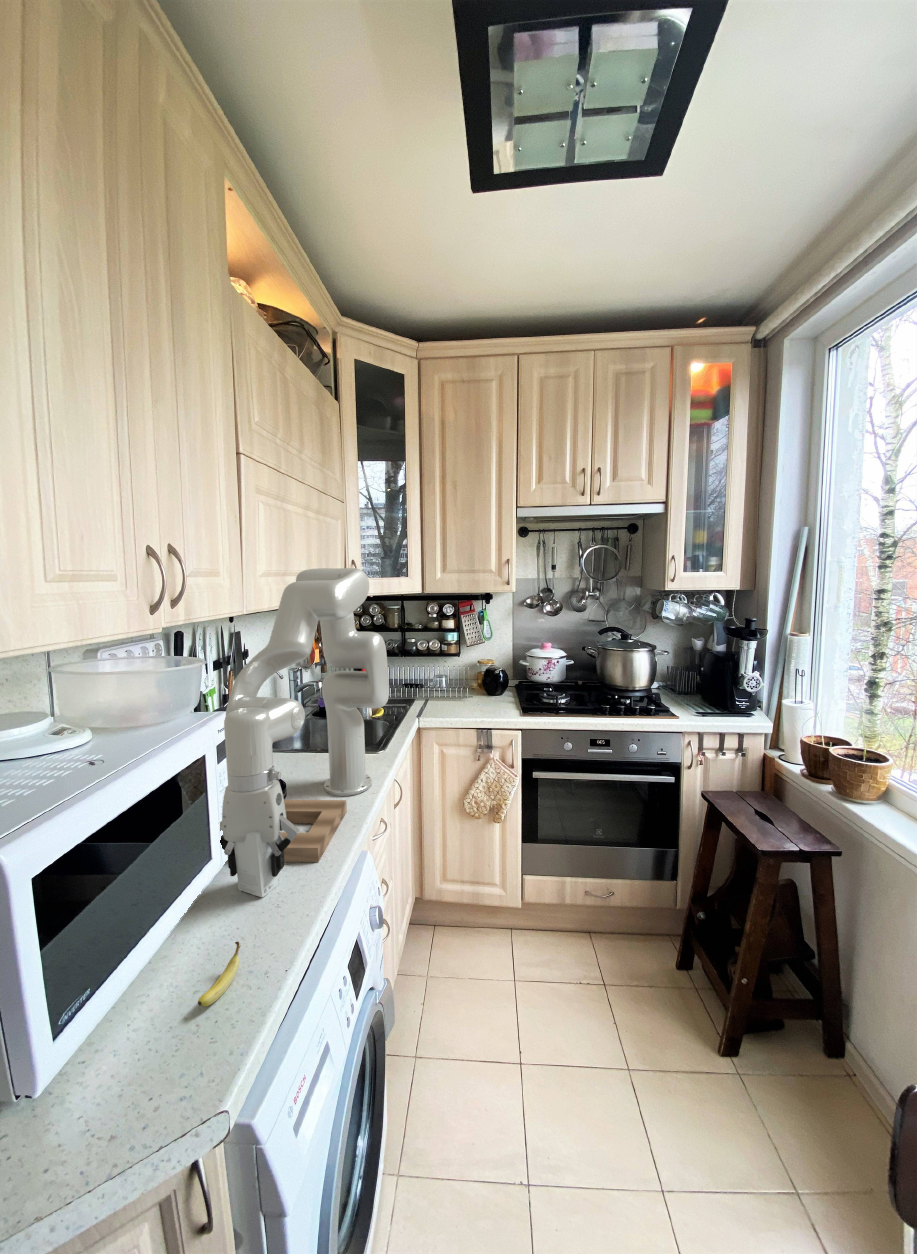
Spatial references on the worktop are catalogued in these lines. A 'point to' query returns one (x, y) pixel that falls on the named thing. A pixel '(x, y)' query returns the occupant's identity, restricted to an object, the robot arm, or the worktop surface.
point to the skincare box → (254, 866)
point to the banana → (222, 981)
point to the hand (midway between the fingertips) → (257, 871)
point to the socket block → (318, 838)
